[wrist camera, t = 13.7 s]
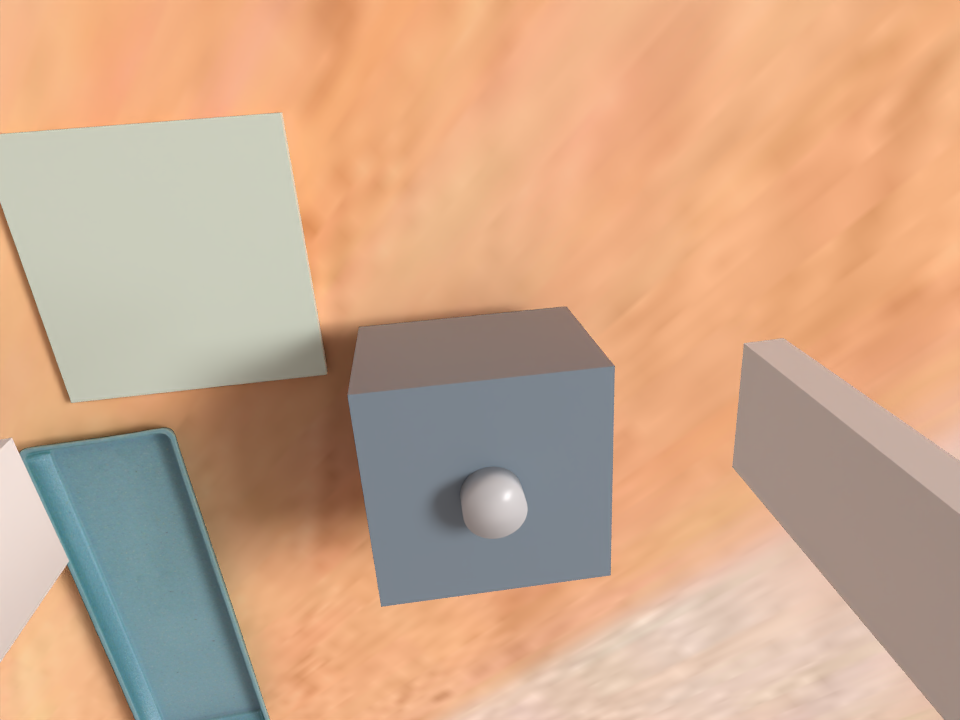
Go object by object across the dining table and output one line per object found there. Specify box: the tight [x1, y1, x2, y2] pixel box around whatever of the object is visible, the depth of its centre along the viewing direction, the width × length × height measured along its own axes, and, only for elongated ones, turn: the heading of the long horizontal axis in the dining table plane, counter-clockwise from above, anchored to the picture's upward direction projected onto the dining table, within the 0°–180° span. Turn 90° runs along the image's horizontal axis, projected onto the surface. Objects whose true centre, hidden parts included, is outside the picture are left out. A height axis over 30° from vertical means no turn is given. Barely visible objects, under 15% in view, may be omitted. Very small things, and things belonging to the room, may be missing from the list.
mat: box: [0, 113, 328, 403], centre depth 36 cm, size 15×15×1 cm
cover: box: [348, 307, 615, 607], centre depth 34 cm, size 12×12×10 cm
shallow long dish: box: [19, 428, 270, 720], centre depth 44 cm, size 26×9×2 cm, turn 6°
